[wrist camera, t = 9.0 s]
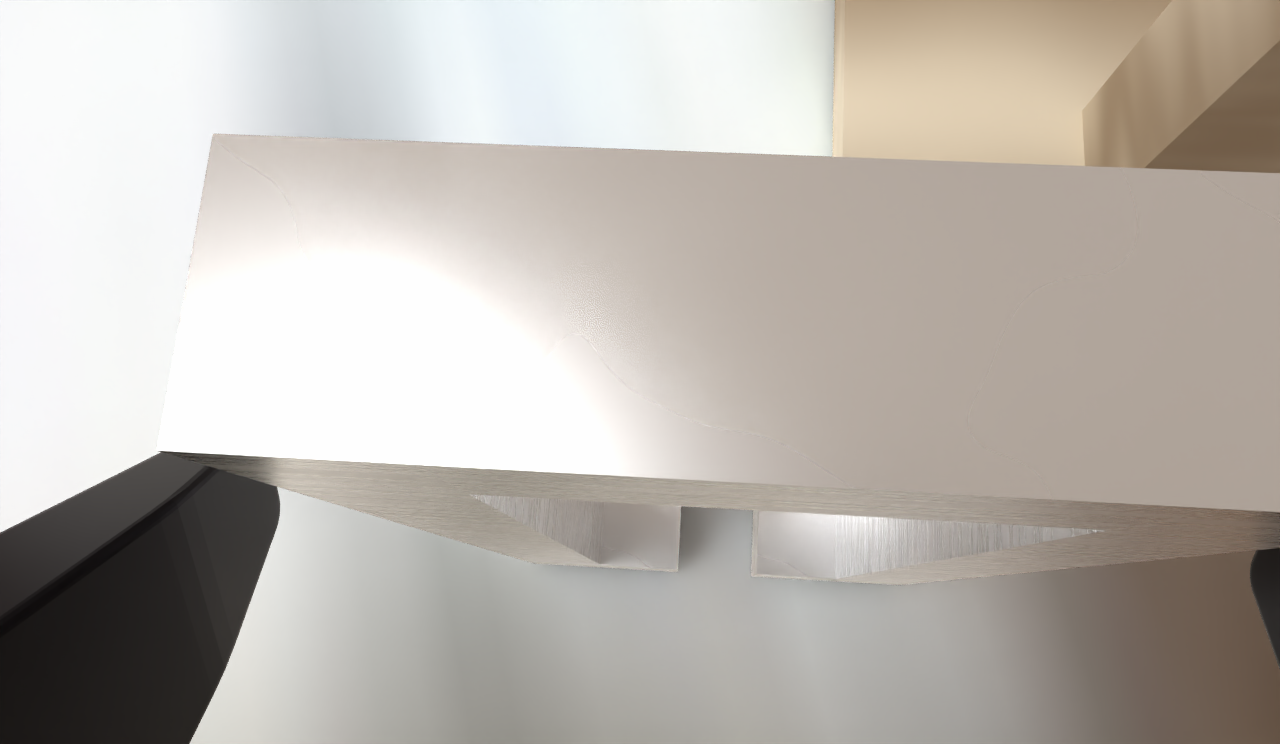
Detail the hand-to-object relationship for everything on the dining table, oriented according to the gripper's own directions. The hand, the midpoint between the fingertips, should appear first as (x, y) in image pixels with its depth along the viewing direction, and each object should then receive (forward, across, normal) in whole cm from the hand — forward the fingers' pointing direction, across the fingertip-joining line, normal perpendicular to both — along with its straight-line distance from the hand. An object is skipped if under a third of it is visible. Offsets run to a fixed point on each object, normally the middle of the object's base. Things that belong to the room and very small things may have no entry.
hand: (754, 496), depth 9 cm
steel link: (+6, 0, +5) cm, 8 cm away
